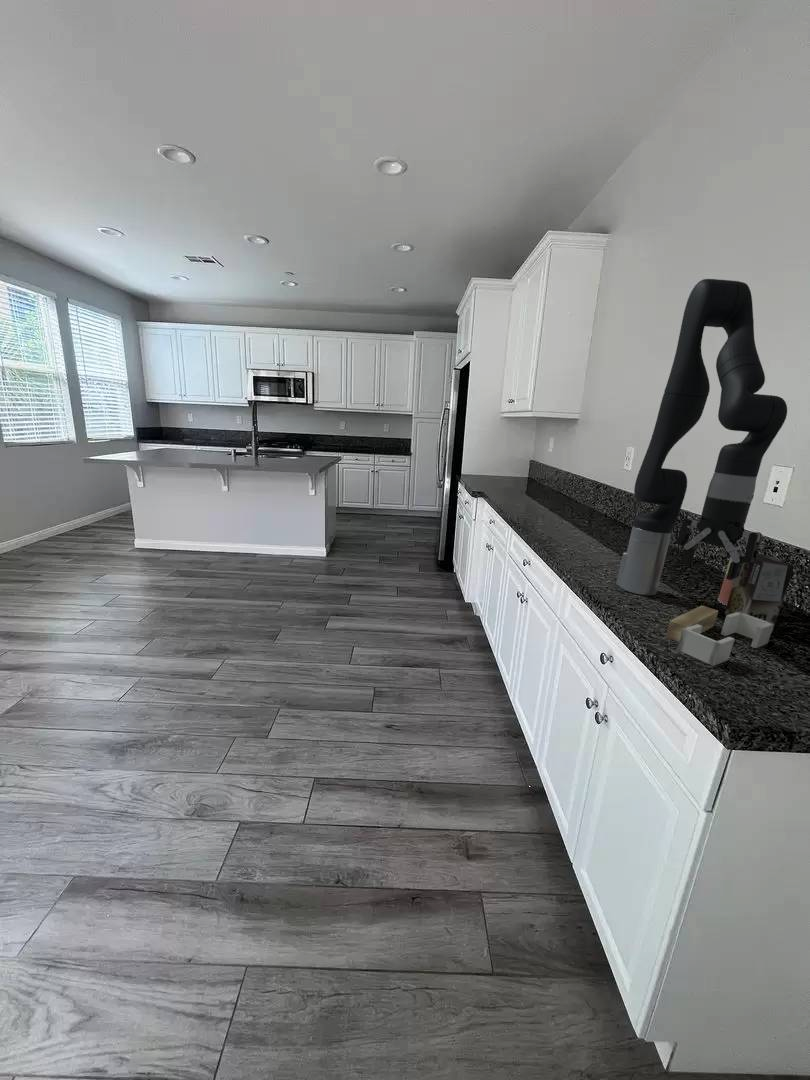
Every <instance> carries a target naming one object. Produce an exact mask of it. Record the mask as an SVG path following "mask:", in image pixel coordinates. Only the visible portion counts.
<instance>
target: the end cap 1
mask: <svg viewBox="0 0 810 1080" xmlns="http://www.w3.org/2000/svg"><path fill="white" fill-rule="evenodd" d="M701 630H702V626H701V625H699V624H697V625H694V626H690V627H687V628H684V629H683V630H682V633H681V637H680V641H679V642H678V644H677V648H676V650H677V651H680V652H681V653H684V654H686V655H688V656H691V657H693V658H694V659H697V660H698V661H701V662H703V663H706V664H708V665H710V666H712V667H716V666H717V665H720V664H722V663H724V662H726V661H729V659H730V656H731V652H732V650H733V646H734V642H735V638H733V637H731V636H726V637H724V638H722V639H720V640H715V639H712V638H710V637H708V636H706V635H703V634H702V633H701ZM700 633H701V634H700Z"/></svg>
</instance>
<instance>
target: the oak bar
mask: <svg viewBox="0 0 810 1080" xmlns="http://www.w3.org/2000/svg"><path fill="white" fill-rule="evenodd" d="M718 614H719V610H717V609H714V608H710V607H709V606H706V605H700V606H697V607H696V608H694V609H691V610H690V611H687V612H686V613H685V612H684V613H683V614H681V615H679V616H677V617H674V618H672V619H670V620H669V623H668V626H667V629H666V634H665V638H668V639H670V640H673V641H675V642H678V643H679V641H680V637H681V633H682V630H683V629H684V628H687V627H690V626H694V625H697V624H699V625H701V626H702V630H701V633H700V634H701V635H702V633H704V632H706V631H708V630H709V629H711V628H713V627H715V625H716V620H717V618H718Z"/></svg>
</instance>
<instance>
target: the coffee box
mask: <svg viewBox="0 0 810 1080" xmlns="http://www.w3.org/2000/svg"><path fill="white" fill-rule="evenodd" d="M742 553H743V555H744V556H745V552H742ZM794 569H795V565H794V564H791V563H789V562H786V561H783V560H782V559H780V558H777V557H774V556H772V555H767V554H761V553H758V555H757V559H756V561H754V562H749V563H747V562H745V563H743V564H742V567H741V571H740V574H739V576H738V577H737V578H735V579H734V582H733V586H732V589H731V593H730V596H729V600H728V603H727V606H726V608H725V611H724V615H725V616H726V615H730V614H733V613H736V612H741V613H744V614H746V615H749V616H752V617H755V618H758V619H761V620H764V621H767V622H769V623H772V624H774V626H773V629H772V632H771V634H772V633H773V631H774V630H775V629H774V628H775V626H776V622H777V619H778V617H779V614H780V611H781V608H782V605H783V602H784V599H785V597H786V592H787V591H788V587H789V584H790V580H791V577H792V575H793V572H794Z"/></svg>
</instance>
